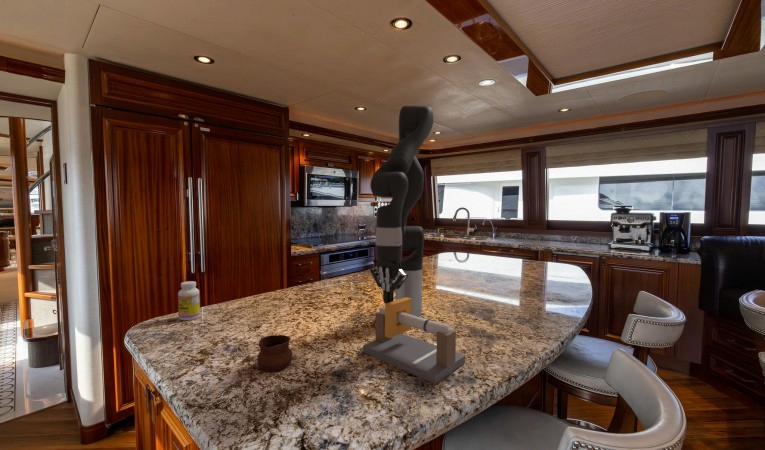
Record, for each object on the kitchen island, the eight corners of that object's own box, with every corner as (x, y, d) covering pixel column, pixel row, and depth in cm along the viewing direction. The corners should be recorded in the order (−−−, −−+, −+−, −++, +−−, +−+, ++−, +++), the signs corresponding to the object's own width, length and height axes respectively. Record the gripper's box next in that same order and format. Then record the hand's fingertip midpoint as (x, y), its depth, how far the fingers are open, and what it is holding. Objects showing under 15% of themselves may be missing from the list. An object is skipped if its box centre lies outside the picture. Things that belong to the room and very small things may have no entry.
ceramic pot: (236, 390, 74) (236, 358, 74) (237, 357, 90) (237, 331, 90) (317, 376, 81) (317, 347, 81) (304, 348, 97) (305, 324, 97)
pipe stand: (362, 352, 93) (363, 311, 92) (395, 337, 103) (395, 300, 103) (434, 384, 77) (435, 335, 76) (465, 363, 87) (466, 319, 86)
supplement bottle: (174, 319, 118) (173, 283, 117) (191, 313, 124) (190, 279, 123) (187, 322, 115) (186, 285, 115) (204, 316, 122) (203, 281, 121)
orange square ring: (384, 336, 91) (385, 303, 90) (405, 327, 97) (406, 297, 97) (390, 338, 89) (390, 305, 89) (411, 329, 96) (411, 298, 95)
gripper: (363, 242, 96) (362, 301, 97) (398, 246, 87) (397, 311, 88) (380, 240, 101) (380, 296, 102) (415, 244, 92) (414, 305, 93)
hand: (388, 303), depth 95 cm, fingers closed
